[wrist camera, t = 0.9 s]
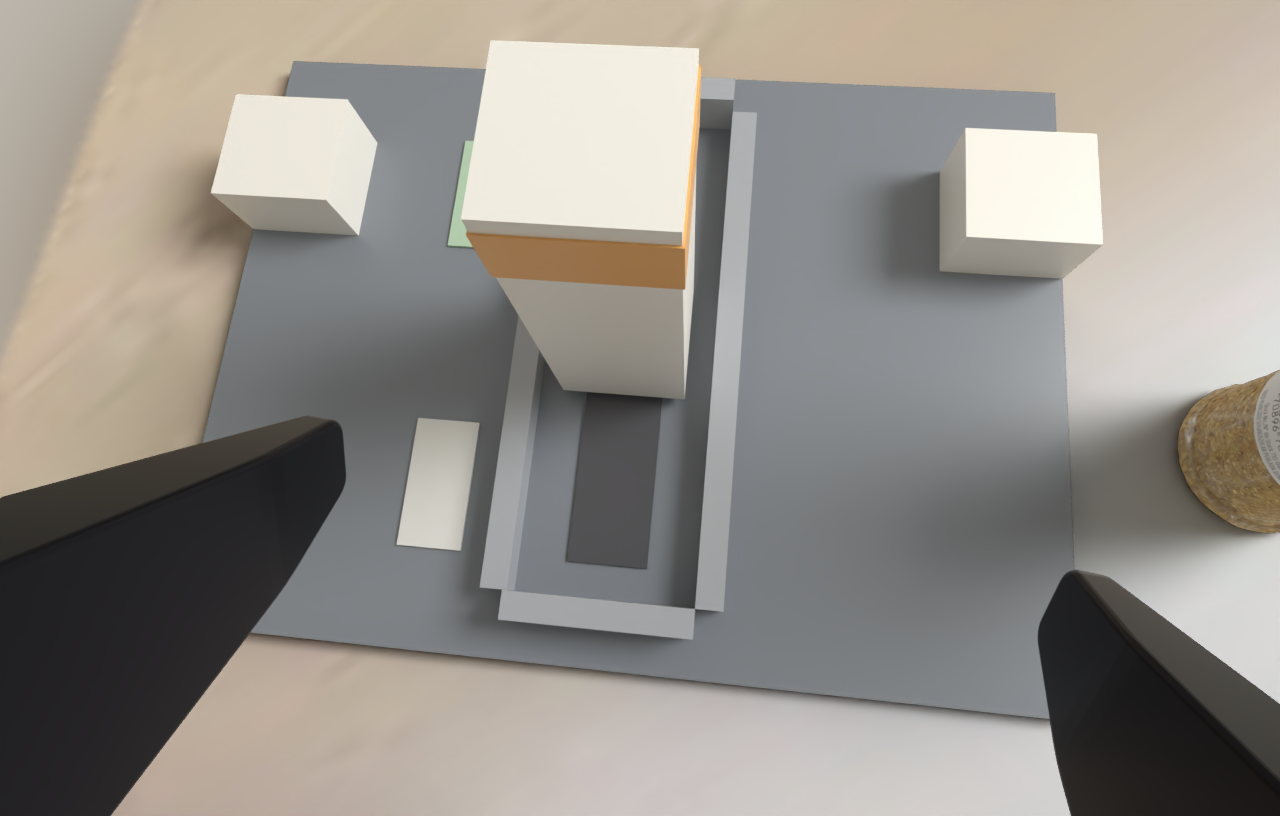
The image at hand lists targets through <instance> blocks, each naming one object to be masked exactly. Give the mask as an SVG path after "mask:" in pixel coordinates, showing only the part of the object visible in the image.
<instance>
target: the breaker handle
mask: <svg viewBox="0 0 1280 816" xmlns="http://www.w3.org/2000/svg"><path fill="white" fill-rule="evenodd" d="M698 63H699V48H674V47H648V46H622V45H596V44H570V43H544V42H518V41H493V40H491V42H490V48H489V54H488V60H487V66H486V72H485V78H484V84H483V90H482V96H481V102H480V108H479V114H478V120H477V126H476V131H475V137H474V143H473V149H472V155H471V161H470V167H469V173H468V179H467V185H466V191H465V197H464V203H463V209H462V215H461V220H462V222H463V224H464V225H465V227H466V229H467V231H466V236H467V238H468V240H469V241H470V243H471V245H472V246H473V248H474V249H475V251H476V253H477V254H478V256H479V258H480V259H481V261H482V262H483V264H484V266H485V267H486V269H487V271H488V272H489V274H490V275H491V277H496V279H497V280H498V282H499V284H500V285H501V287H502V289H503V290H504V292H505V294H506V295H507V297H508V299H509V300H510V302H511V304H512V305H513V307H514V309H515V310H516V312H517V314H518V315H519V317H520V319H521V320H522V322H523V324H524V325H525V327H526V329H527V330H528V332H529V334H530V335H531V337H532V339H533V340H534V342H535V344H536V345H537V347H538V348H539V350H540V352H541V353H542V355H543V357H544V358H545V360H546V362H547V363H548V365H549V367H550V368H551V370H552V372H553V373H554V375H555V377H556V378H557V380H558V382H559V383H560V385H561V387H562V388H563V390H569V391H582V392H595V393H608V394H621V395H634V396H647V397H660V398H673V399H685V389H686V377H687V365H688V353H689V341H690V330H691V318H692V306H693V294H694V255H695V207H696V162H697V150H698V139H699V128H700V97H701V65H698Z"/></svg>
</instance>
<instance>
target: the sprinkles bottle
mask: <svg viewBox="0 0 1280 816" xmlns="http://www.w3.org/2000/svg"><path fill="white" fill-rule="evenodd" d="M1178 453H1179V463H1180V466H1181V469H1182V472H1183V474H1184V476H1185V479H1186V481H1187V483H1188V485H1189V487H1190V488H1191V490H1192V491H1193V493H1194V494H1195V495H1196V497H1197V498H1198V499H1199V500H1200V501H1201V502H1202V503H1203V504H1204V505H1205V506H1206V507H1207V508H1208V509H1210V510H1211V511H1212V512H1214V513H1215V514H1217V515H1218V516H1219V517H1221V518H1222V519H1224V520H1226V521H1227V522H1229V523H1231V524H1232V525H1234V526H1236V527H1239V528H1242V529H1247V530H1251V531H1256V532H1264V533H1276V532H1280V370H1278V371H1275V372H1273V373H1271V374H1269V375H1267V376H1264V377H1261V378H1257V379H1255V380H1252V381H1250V382H1247V383H1245V384H1235V385H1231V386H1229V387H1225V388H1221V389H1218V390H1215V391H1213V392H1211V393H1210V394H1209V395H1207V396H1205V397H1204V398H1202V399H1200V400H1199V401H1198V402H1197V403H1196V404H1195V405H1194V406H1193V407H1192V408H1191V409H1190V411H1189V412H1188V414H1187V416H1186V418H1185V419H1184V420H1183V423H1182V425H1181V427H1180V429H1179V437H1178Z"/></svg>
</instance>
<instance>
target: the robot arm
mask: <svg viewBox="0 0 1280 816" xmlns="http://www.w3.org/2000/svg"><path fill="white" fill-rule="evenodd" d="M345 482H346V464H345V451H344V439H343V431H342V427H341V425H340V424H339V423H338V422H337V421H336V420H332V419H328V418H323V417H318V416H313V415H305V416H301V417H297V418H293V419H290V420H286V421H282V422H278V423H275V424H271V425H267V426H264V427H260V428H256V429H252V430H249V431H245V432H241V433H238V434H234V435H230V436H226V437H223V438H219V439H215V440H212V441H208V442H204V443H200V444H197V445H193V446H189V447H186V448H182V449H178V450H174V451H171V452H167V453H163V454H160V455H156V456H152V457H149V458H145V459H141V460H137V461H134V462H130V463H126V464H123V465H119V466H115V467H111V468H108V469H104V470H100V471H97V472H93V473H89V474H85V475H82V476H78V477H74V478H71V479H67V480H63V481H59V482H56V483H52V484H48V485H45V486H41V487H37V488H34V489H30V490H26V491H22V492H19V493H15V494H11V495H8V496H4V497H2V498H0V816H111V815H112V813H113V812H114V811H115V810H116V808H117V807H118V806H119V804H120V803H121V802H122V800H123V799H124V798H125V796H126V795H127V794H128V792H129V791H130V790H131V788H132V787H133V786H134V785H135V783H136V782H137V781H138V779H139V778H140V777H141V775H142V774H143V773H144V771H145V770H146V769H147V767H148V766H149V765H150V764H151V762H152V761H153V760H154V758H155V757H156V756H157V754H158V753H159V752H160V750H161V749H162V748H163V746H164V745H165V744H166V743H167V741H168V740H169V739H170V737H171V736H172V735H173V733H174V732H175V731H176V729H177V728H178V727H179V725H180V724H181V723H182V722H183V720H184V719H185V718H186V716H187V715H188V714H189V712H190V711H191V710H192V708H193V707H194V706H195V704H196V703H197V702H198V701H199V699H200V698H201V697H202V695H203V694H204V693H205V691H206V690H207V689H208V687H209V686H210V685H211V683H212V682H213V681H214V680H215V678H216V677H217V676H218V674H219V673H220V672H221V670H222V669H223V668H224V666H225V665H226V664H227V662H228V661H229V660H230V659H231V657H232V656H233V655H234V653H235V652H236V651H237V649H238V648H239V647H240V645H241V644H242V643H243V641H244V640H245V639H246V638H247V636H248V635H249V634H250V632H251V631H252V630H253V628H254V627H255V626H256V624H257V623H258V622H259V620H260V619H261V618H262V617H263V615H264V614H265V613H266V611H267V610H268V609H269V607H270V606H271V605H272V603H273V602H274V601H275V599H276V598H277V597H278V595H279V594H280V592H281V591H282V590H283V588H284V587H285V586H286V584H287V582H288V581H289V579H290V578H291V576H292V575H293V573H294V572H295V570H296V568H297V567H298V565H299V563H300V562H301V560H302V559H303V557H304V555H305V554H306V552H307V550H308V549H309V547H310V545H311V544H312V542H313V540H314V539H315V537H316V535H317V534H318V532H319V530H320V529H321V527H322V525H323V524H324V522H325V520H326V519H327V517H328V515H329V514H330V512H331V510H332V509H333V507H334V505H335V504H336V502H337V500H338V499H339V497H340V495H341V493H342V491H343V489H344V486H345ZM1038 648H1039V654H1040V661H1041V667H1042V674H1043V680H1044V686H1045V693H1046V699H1047V706H1048V712H1049V719H1050V725H1051V732H1052V738H1053V744H1054V749H1055V755H1056V760H1057V765H1058V769H1059V773H1060V777H1061V781H1062V785H1063V788H1064V792H1065V796H1066V799H1067V803H1068V806H1069V810H1070V814H1071V816H1280V704H1279V703H1278V702H1276V701H1275V700H1274V699H1272V698H1271V697H1270V696H1268V695H1267V694H1266V693H1264V692H1263V691H1262V690H1260V689H1259V688H1257V687H1256V686H1255V685H1253V684H1252V683H1251V682H1249V681H1248V680H1247V679H1245V678H1244V677H1243V676H1241V675H1240V674H1239V673H1237V672H1236V671H1235V670H1233V669H1232V668H1231V667H1229V666H1228V665H1227V664H1225V663H1224V662H1223V661H1221V660H1220V659H1219V658H1217V657H1216V656H1214V655H1213V654H1212V653H1210V652H1209V651H1208V650H1206V649H1205V648H1204V647H1202V646H1201V645H1200V644H1198V643H1197V642H1196V641H1194V640H1193V639H1192V638H1190V637H1189V636H1188V635H1186V634H1185V633H1184V632H1182V631H1181V630H1180V629H1178V628H1177V627H1176V626H1174V625H1173V624H1171V623H1170V622H1169V621H1167V620H1166V619H1165V618H1163V617H1162V616H1161V615H1159V614H1158V613H1157V612H1155V611H1154V610H1153V609H1151V608H1150V607H1149V606H1147V605H1146V604H1145V603H1143V602H1142V601H1141V600H1139V599H1138V598H1137V597H1135V596H1134V595H1133V594H1131V593H1130V592H1128V591H1127V590H1126V589H1124V588H1123V587H1122V586H1120V585H1119V584H1118V583H1116V582H1115V581H1114V580H1112V579H1111V578H1109V577H1107V576H1104V575H1099V574H1094V573H1089V572H1084V571H1079V570H1071V571H1069V572H1067V573H1066V574H1065V575H1064V576H1063V577H1062V578H1061V580H1060V582H1059V584H1058V586H1057V588H1056V590H1055V592H1054V594H1053V596H1052V598H1051V600H1050V602H1049V604H1048V606H1047V608H1046V610H1045V612H1044V615H1043V617H1042V619H1041V621H1040V624H1039V628H1038Z"/></svg>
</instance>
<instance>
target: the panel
mask: <svg viewBox="0 0 1280 816" xmlns="http://www.w3.org/2000/svg"><path fill="white" fill-rule="evenodd" d="M485 72H486V69H470V68H446V67H422V66H398V65H375V64H351V63H327V62H303V61H293V65H292V69H291V73H290V78H289V82H288V86H287V90H286V94H285V97H284V96H262V95H241V94H236V97H235V101H234V104H233V108H232V112H231V116H230V120H229V124H228V128H227V132H226V136H225V139H224V143H223V147H222V151H221V155H220V159H219V163H218V167H217V171H216V174H215V178H214V182H213V186H212V190H211V194H212V195H213V196H215V197H216V198H217V199H218V200H219V201H221V202H222V203H223V204H224V205H225V206H226V207H228V208H229V209H230V210H231V211H232V212H234V213H235V214H236V215H237V216H238V217H239V218H241V219H242V220H243V221H244V222H245V223H247V224H248V225H249V226H250V227H251V228H252V229H253V232H252V237H251V241H250V245H249V249H248V253H247V257H246V262H245V266H244V270H243V274H242V278H241V283H240V287H239V291H238V295H237V299H236V304H235V308H234V312H233V316H232V320H231V324H230V329H229V333H228V337H227V341H226V345H225V350H224V354H223V358H222V362H221V366H220V370H219V375H218V379H217V383H216V387H215V391H214V396H213V400H212V404H211V408H210V412H209V417H208V421H207V425H206V429H205V433H204V437H203V442H202V443H204V442H208V441H212V440H215V439H219V438H223V437H226V436H230V435H234V434H238V433H241V432H245V431H249V430H252V429H256V428H260V427H264V426H267V425H271V424H275V423H278V422H282V421H286V420H290V419H293V418H297V417H301V416H305V415H313V416H318V417H323V418H328V419H332V420H336V421H337V422H338V423H339V424H340V425H341V427H342V431H343V439H344V451H345V464H346V482H345V486H344V489H343V491H342V493H341V495H340V497H339V499H338V500H337V502H336V504H335V505H334V507H333V509H332V510H331V512H330V514H329V515H328V517H327V519H326V520H325V522H324V524H323V525H322V527H321V529H320V530H319V532H318V534H317V535H316V537H315V539H314V540H313V542H312V544H311V545H310V547H309V549H308V550H307V552H306V554H305V555H304V557H303V559H302V560H301V562H300V563H299V565H298V567H297V568H296V570H295V572H294V573H293V575H292V576H291V578H290V579H289V581H288V582H287V584H286V586H285V587H284V588H283V590H282V591H281V592H280V594H279V595H278V597H277V598H276V599H275V601H274V602H273V603H272V605H271V606H270V607H269V609H268V610H267V611H266V613H265V614H264V615H263V617H262V618H261V619H260V620H259V622H258V623H257V624H256V626H255V627H254V628H253V630H252V631H251V632H250V633H259V634H268V635H277V636H287V637H296V638H305V639H314V640H324V641H333V642H342V643H351V644H361V645H370V646H379V647H388V648H398V649H407V650H416V651H425V652H435V653H444V654H453V655H462V656H472V657H481V658H490V659H499V660H509V661H518V662H527V663H536V664H546V665H555V666H564V667H573V668H583V669H592V670H601V671H610V672H620V673H629V674H638V675H647V676H657V677H666V678H675V679H684V680H694V681H703V682H712V683H721V684H731V685H740V686H749V687H758V688H768V689H777V690H786V691H795V692H805V693H814V694H823V695H832V696H842V697H851V698H860V699H869V700H879V701H888V702H897V703H906V704H916V705H925V706H934V707H943V708H953V709H962V710H971V711H980V712H990V713H999V714H1008V715H1017V716H1027V717H1036V718H1045V719H1049V712H1048V706H1047V699H1046V693H1045V686H1044V680H1043V674H1042V667H1041V661H1040V654H1039V648H1038V628H1039V624H1040V621H1041V619H1042V617H1043V615H1044V612H1045V610H1046V608H1047V606H1048V604H1049V602H1050V600H1051V598H1052V596H1053V594H1054V592H1055V590H1056V588H1057V586H1058V584H1059V582H1060V580H1061V578H1062V577H1063V576H1064V575H1065V574H1066V573H1067V572H1069V571H1071V570H1074V551H1073V526H1072V502H1071V477H1070V453H1069V428H1068V403H1067V379H1066V354H1065V329H1064V305H1063V280H1062V279H1063V278H1064V277H1065V276H1066V275H1068V274H1069V273H1070V272H1071V271H1072V270H1074V269H1075V268H1076V267H1077V266H1078V265H1079V264H1081V263H1082V262H1083V261H1084V260H1085V259H1087V258H1088V257H1089V256H1090V255H1091V254H1092V253H1094V252H1095V251H1096V250H1097V249H1098V248H1100V247H1101V246H1102V245H1103V235H1102V217H1101V198H1100V180H1099V162H1098V144H1097V134H1089V133H1067V132H1056V107H1055V93H1043V92H1020V91H996V90H972V89H948V88H924V87H900V86H876V85H852V84H828V83H805V82H781V81H757V80H735V79H732V78H708V77H701V97H700V128H699V139H698V150H697V162H696V207H695V255H694V294H693V306H692V318H691V330H690V341H689V353H688V365H687V377H686V389H685V399H673V398H660V397H647V396H634V395H621V394H608V393H595V392H582V391H569V390H563V388H562V387H561V385H560V383H559V382H558V380H557V378H556V377H555V375H554V373H553V372H552V370H551V368H550V367H549V365H548V363H547V362H546V360H545V358H544V357H543V355H542V353H541V352H540V350H539V348H538V347H537V345H536V344H535V342H534V340H533V339H532V337H531V335H530V334H529V332H528V330H527V329H526V327H525V325H524V324H523V322H522V320H521V319H520V317H519V315H518V314H517V312H516V310H515V309H514V307H513V305H512V304H511V302H510V300H509V299H508V297H507V295H506V294H505V292H504V290H503V289H502V287H501V285H500V284H499V282H498V280H497V279H496V277H491V275H490V274H489V272H488V271H487V269H486V267H485V266H484V264H483V262H482V261H481V259H480V258H479V256H478V254H477V253H476V251H475V249H474V248H473V246H472V245H471V243H470V241H469V240H468V238H467V236H466V231H467V229H466V227H465V225H464V224H463V222H462V220H461V215H462V209H463V203H464V197H465V191H466V185H467V179H468V173H469V167H470V161H471V155H472V149H473V143H474V137H475V131H476V126H477V120H478V114H479V108H480V102H481V96H482V90H483V84H484V78H485Z"/></svg>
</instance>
